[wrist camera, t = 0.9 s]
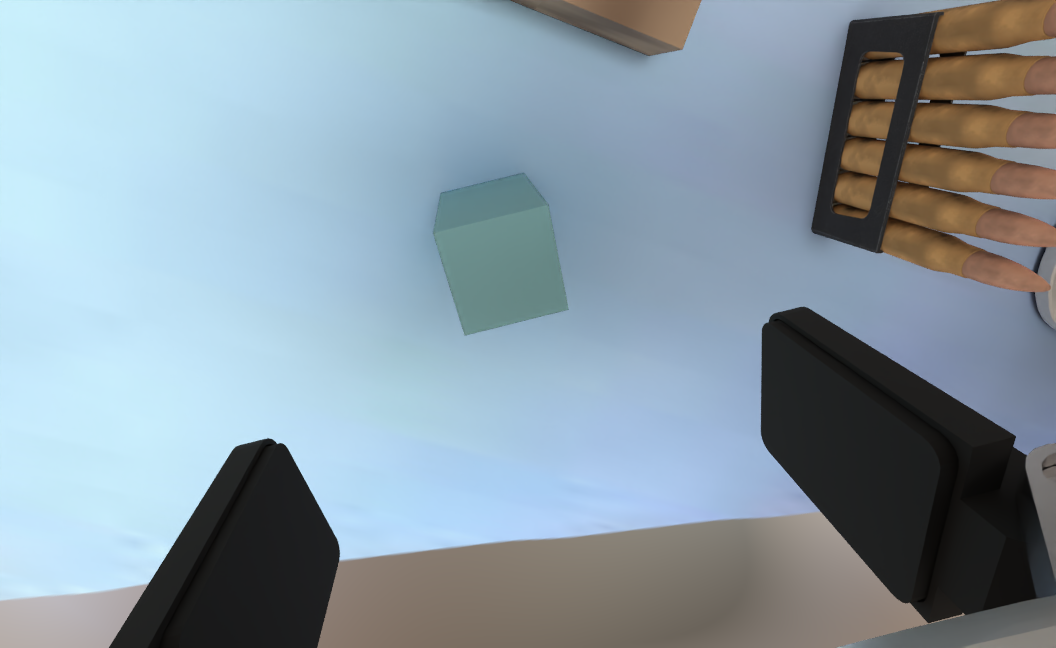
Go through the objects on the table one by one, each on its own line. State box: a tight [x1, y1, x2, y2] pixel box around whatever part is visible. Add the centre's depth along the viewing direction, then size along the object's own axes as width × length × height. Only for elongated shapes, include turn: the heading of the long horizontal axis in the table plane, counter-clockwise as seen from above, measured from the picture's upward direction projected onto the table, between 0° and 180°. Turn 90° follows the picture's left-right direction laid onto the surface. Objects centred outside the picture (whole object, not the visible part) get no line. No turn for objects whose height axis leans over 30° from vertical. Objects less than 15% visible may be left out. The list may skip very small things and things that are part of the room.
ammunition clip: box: [811, 0, 1056, 292], centre depth 21 cm, size 11×2×12 cm, turn 4°
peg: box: [433, 173, 569, 335], centre depth 23 cm, size 4×4×8 cm
